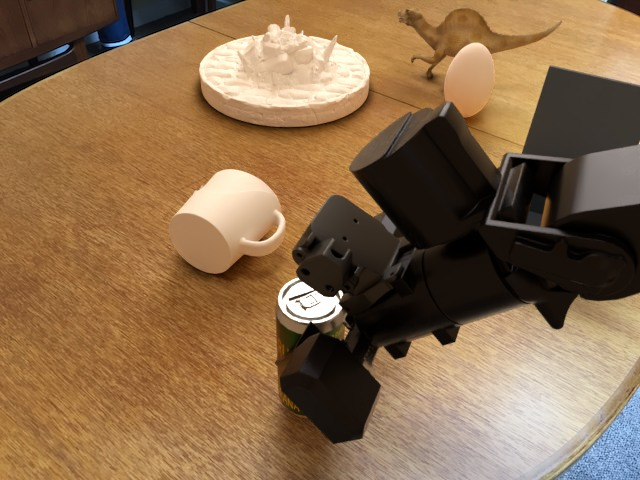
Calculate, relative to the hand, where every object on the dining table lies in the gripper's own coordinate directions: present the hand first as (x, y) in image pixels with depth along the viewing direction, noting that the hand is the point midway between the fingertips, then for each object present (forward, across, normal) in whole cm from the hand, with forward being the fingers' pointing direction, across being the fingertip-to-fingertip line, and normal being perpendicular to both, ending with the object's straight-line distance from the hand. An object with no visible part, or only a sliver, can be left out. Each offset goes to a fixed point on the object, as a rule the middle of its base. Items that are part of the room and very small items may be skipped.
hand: (294, 340), depth 48 cm
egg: (+4, -59, +7) cm, 60 cm away
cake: (+25, -56, -14) cm, 62 cm away
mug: (+16, -15, -5) cm, 23 cm away
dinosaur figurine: (+6, -69, +6) cm, 70 cm away
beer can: (+4, 0, +6) cm, 7 cm away
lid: (-16, -38, +10) cm, 43 cm away
